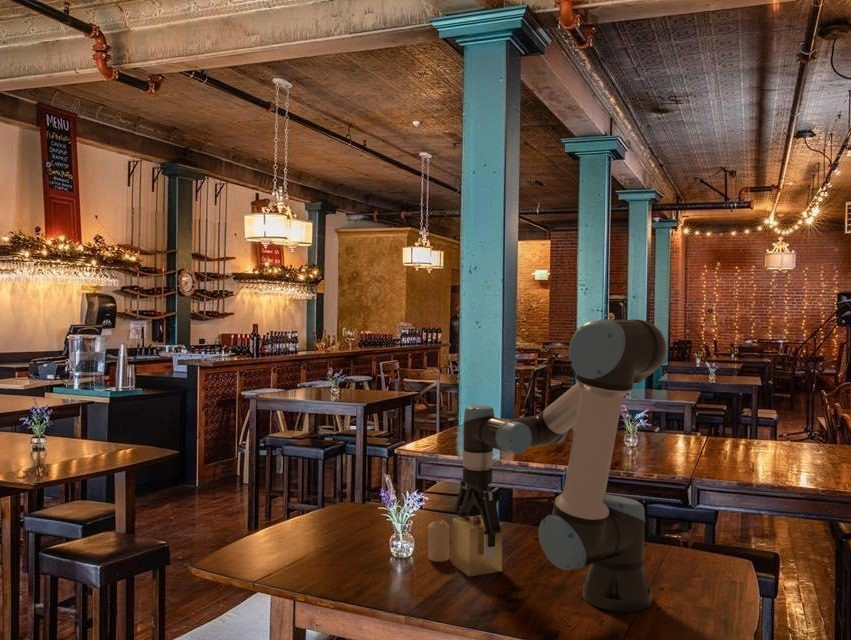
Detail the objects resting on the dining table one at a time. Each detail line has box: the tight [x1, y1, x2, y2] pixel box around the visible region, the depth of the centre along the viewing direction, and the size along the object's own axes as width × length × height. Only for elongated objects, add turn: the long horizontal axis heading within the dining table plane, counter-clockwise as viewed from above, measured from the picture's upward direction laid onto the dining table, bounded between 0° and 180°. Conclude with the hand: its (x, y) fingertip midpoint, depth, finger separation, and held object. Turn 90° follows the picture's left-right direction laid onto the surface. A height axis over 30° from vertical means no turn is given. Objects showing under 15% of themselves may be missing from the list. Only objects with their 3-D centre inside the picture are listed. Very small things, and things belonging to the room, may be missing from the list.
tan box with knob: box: [451, 514, 503, 578], centre depth 187 cm, size 9×9×13 cm
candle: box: [427, 518, 450, 563], centre depth 194 cm, size 6×6×10 cm
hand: (476, 550), depth 188 cm, fingers open, 13 cm apart
